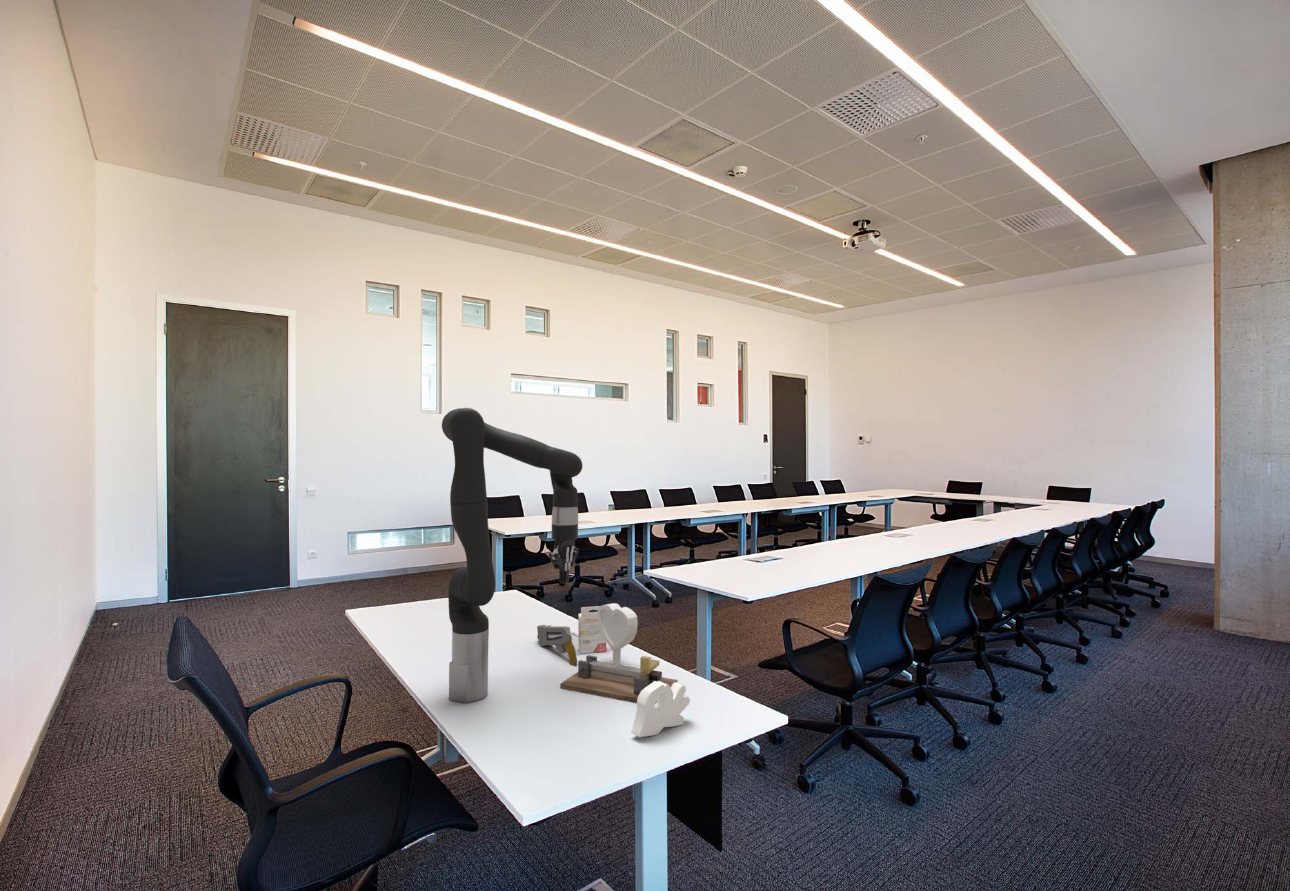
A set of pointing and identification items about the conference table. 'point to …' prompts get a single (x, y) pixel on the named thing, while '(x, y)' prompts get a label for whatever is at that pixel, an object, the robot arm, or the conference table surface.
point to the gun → (557, 640)
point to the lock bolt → (647, 664)
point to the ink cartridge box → (590, 632)
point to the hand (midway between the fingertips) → (563, 583)
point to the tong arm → (622, 670)
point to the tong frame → (612, 675)
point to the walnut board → (605, 687)
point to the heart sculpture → (617, 628)
